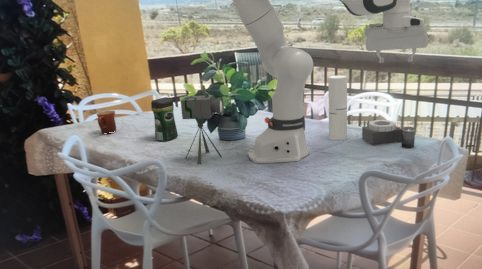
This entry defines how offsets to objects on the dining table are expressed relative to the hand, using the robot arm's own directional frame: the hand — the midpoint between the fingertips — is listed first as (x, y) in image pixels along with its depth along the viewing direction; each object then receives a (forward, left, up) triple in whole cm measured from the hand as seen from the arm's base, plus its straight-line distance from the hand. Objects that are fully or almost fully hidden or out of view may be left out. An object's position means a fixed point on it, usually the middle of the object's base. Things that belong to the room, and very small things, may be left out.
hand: (395, 62), depth 142 cm
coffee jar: (-85, +44, -31) cm, 100 cm away
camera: (-70, +11, -31) cm, 77 cm away
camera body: (-1, +7, -31) cm, 32 cm away
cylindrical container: (-15, +17, -31) cm, 39 cm away
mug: (-114, +65, -31) cm, 135 cm away
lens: (+4, -3, -31) cm, 32 cm away
